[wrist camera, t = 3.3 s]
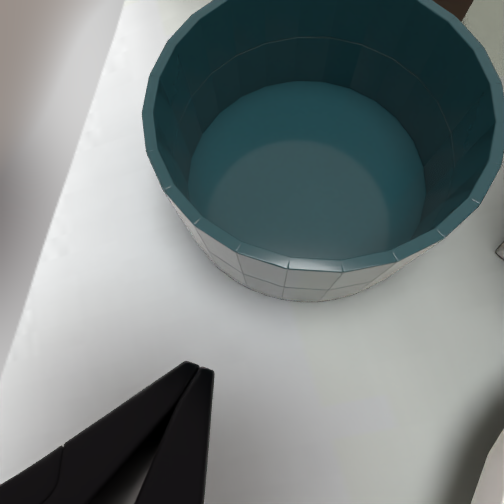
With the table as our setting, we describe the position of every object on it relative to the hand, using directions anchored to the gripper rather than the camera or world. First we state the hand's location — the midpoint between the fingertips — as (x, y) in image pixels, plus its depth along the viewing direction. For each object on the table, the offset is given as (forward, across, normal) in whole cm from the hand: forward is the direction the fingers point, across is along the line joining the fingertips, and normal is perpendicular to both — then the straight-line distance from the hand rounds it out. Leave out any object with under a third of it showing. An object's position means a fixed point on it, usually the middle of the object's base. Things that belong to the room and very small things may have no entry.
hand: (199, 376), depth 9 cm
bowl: (+19, 0, 0) cm, 19 cm away
